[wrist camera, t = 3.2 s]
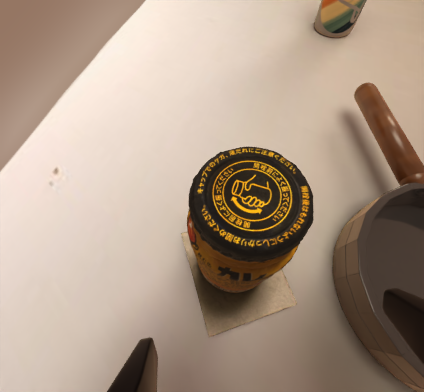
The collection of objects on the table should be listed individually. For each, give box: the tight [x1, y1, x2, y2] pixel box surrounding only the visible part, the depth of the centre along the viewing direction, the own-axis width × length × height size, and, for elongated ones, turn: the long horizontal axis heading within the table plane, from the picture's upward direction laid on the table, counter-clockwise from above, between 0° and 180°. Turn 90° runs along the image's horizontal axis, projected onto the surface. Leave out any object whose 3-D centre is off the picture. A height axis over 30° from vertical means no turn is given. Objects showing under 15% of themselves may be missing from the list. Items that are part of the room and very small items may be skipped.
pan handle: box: [354, 83, 424, 186], centre depth 21 cm, size 12×2×2 cm, turn 5°
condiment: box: [181, 147, 313, 337], centre depth 14 cm, size 7×8×12 cm
